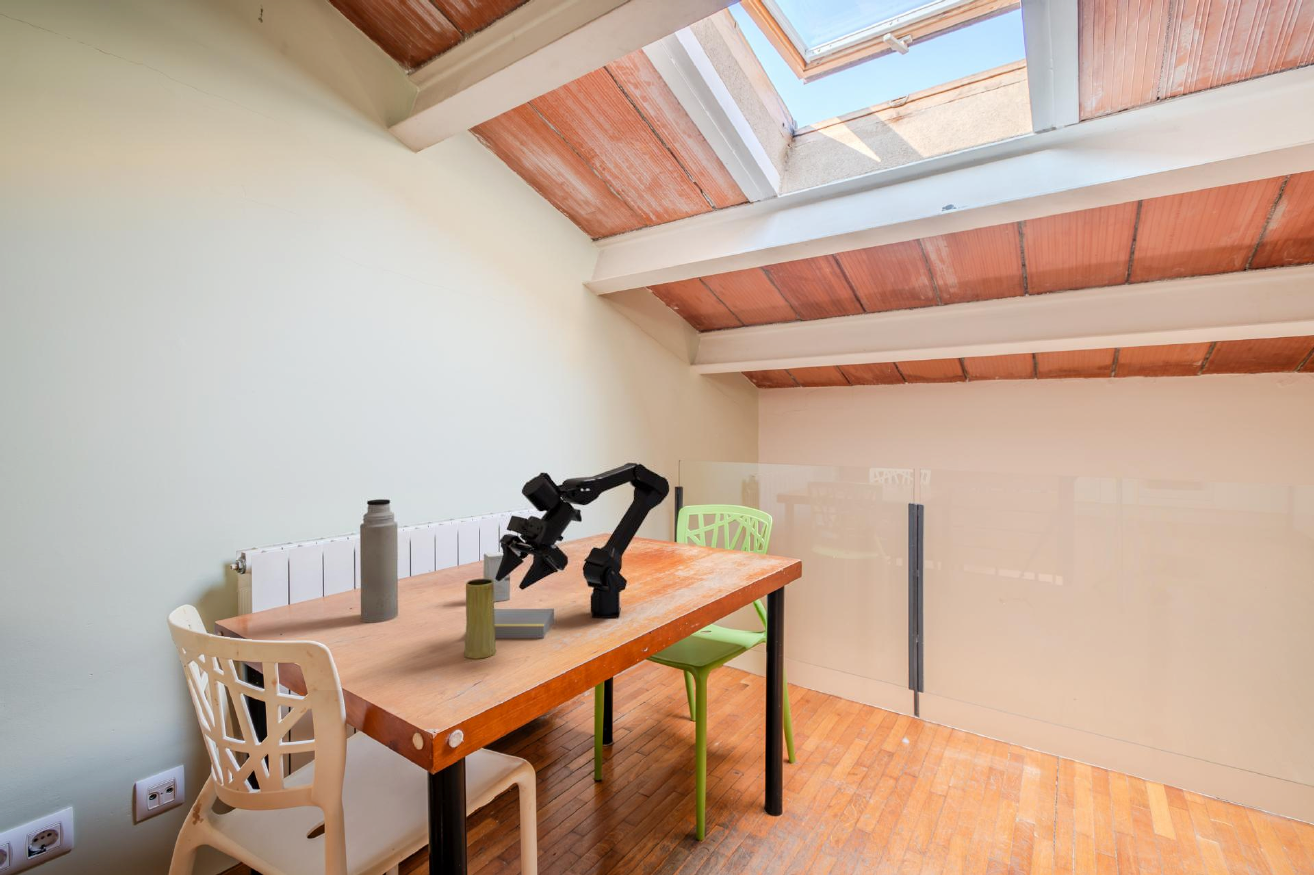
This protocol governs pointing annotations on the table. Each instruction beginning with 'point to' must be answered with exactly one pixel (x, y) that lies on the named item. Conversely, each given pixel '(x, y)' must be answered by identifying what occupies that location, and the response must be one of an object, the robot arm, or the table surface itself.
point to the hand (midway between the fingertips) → (508, 584)
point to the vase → (480, 619)
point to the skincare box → (490, 572)
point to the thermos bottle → (379, 563)
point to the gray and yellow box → (522, 622)
